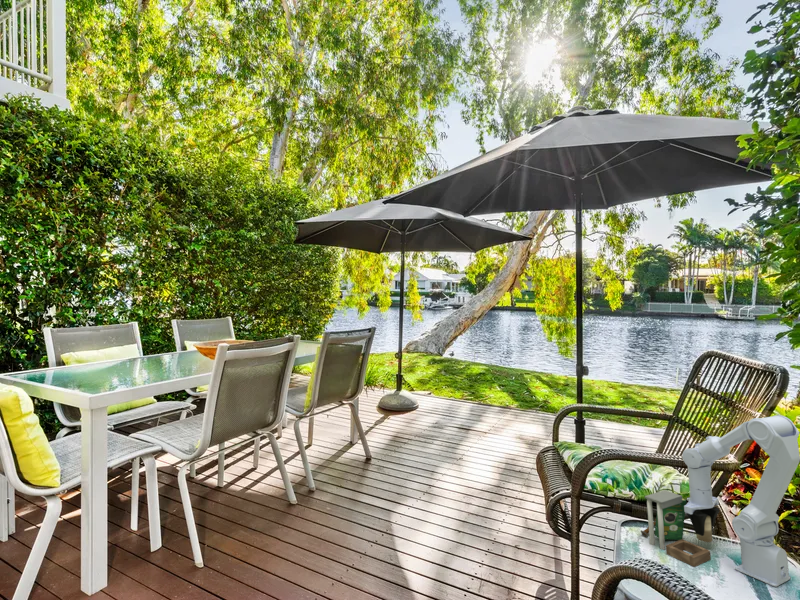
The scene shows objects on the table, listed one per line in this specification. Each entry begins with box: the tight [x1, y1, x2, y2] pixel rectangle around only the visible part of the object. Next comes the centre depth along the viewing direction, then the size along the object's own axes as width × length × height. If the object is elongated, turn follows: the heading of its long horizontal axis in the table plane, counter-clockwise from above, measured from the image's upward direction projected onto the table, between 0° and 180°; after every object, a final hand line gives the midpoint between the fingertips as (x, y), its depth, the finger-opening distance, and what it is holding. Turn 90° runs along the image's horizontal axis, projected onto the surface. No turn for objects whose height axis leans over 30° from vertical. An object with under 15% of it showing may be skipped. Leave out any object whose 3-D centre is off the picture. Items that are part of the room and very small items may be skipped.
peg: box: [695, 514, 713, 543], centre depth 132 cm, size 4×4×7 cm
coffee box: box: [654, 497, 687, 541], centre depth 137 cm, size 8×3×13 cm, turn 96°
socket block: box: [665, 538, 712, 568], centre depth 127 cm, size 8×8×2 cm
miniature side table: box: [644, 489, 683, 551], centre depth 135 cm, size 6×10×15 cm, turn 116°
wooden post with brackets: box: [640, 518, 656, 538], centre depth 141 cm, size 2×8×4 cm, turn 110°
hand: (704, 532), depth 132 cm, fingers closed on peg, 4 cm apart
